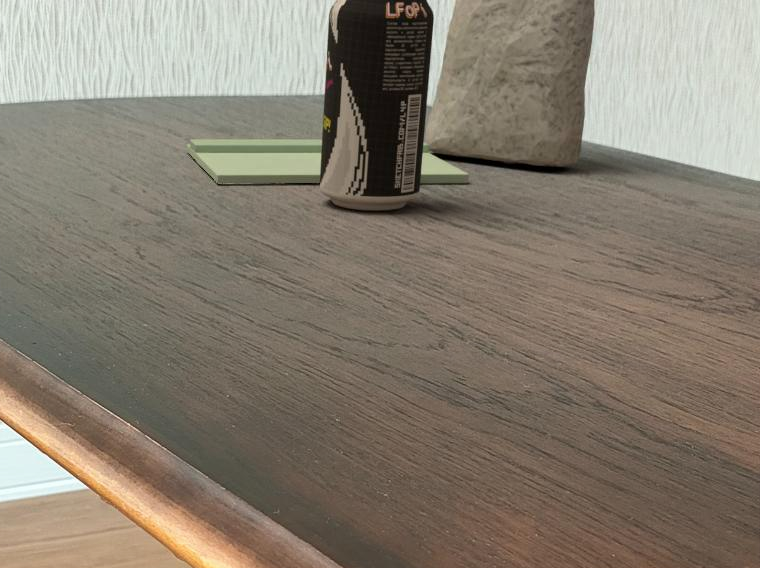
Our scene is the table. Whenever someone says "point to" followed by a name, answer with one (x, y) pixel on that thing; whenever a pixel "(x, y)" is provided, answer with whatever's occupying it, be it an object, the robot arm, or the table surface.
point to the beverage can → (375, 102)
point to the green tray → (289, 161)
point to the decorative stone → (514, 81)
